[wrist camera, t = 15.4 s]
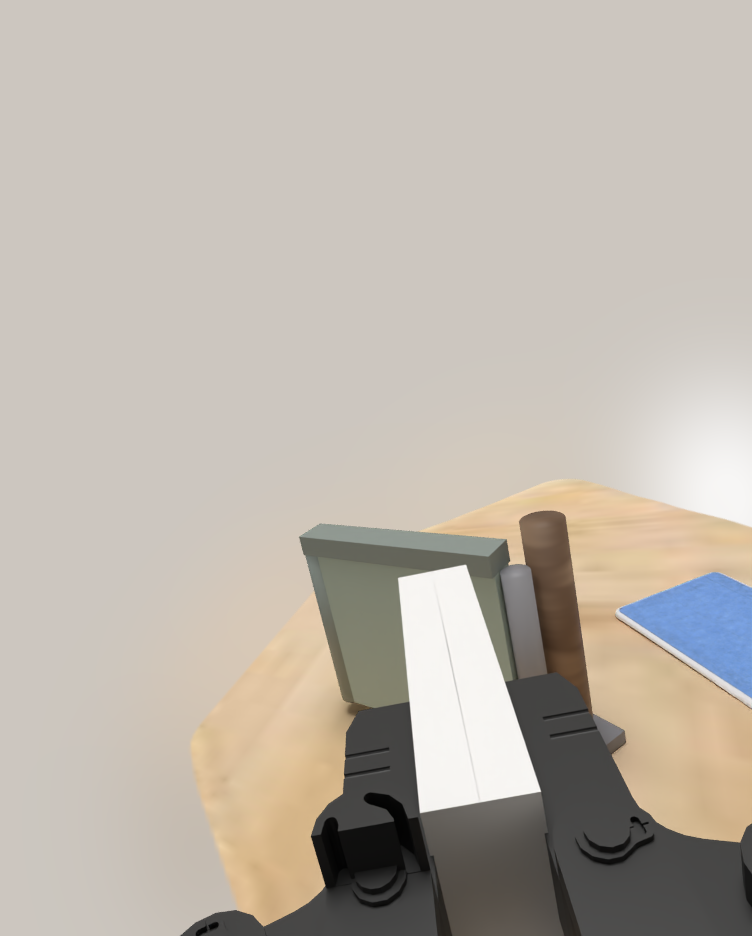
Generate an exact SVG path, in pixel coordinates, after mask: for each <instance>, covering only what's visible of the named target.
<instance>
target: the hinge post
mask: <svg viewBox="0 0 752 936" xmlns="http://www.w3.org/2000/svg"><path fill="white" fill-rule="evenodd" d="M519 524H520V530H521V537H522V543H523V549H524V555H525V562H526V565H527V566H529V567H530V568H531V573H532V580H533V586H534V592H535V599H536V605H537V611H538V618H539V624H540V630H541V637H542V643H543V649H544V656H545V662H546V668H547V674H549V673H555V672H557V673H558V674H560V675H561V676H562V677H564V678H565V679H566V680H568V681H569V682H570V683H572V684H573V685H574V686H576V687H577V688H578V690H579V692H580V694H581V696H582V698H583V700H584V702H585V704H586V706H587V708H588V711H589V713H590V714H591V716H592V718H593V720H594V722H595V724H596V726H597V729H598V731H599V732H600V734H601V736H602V738H603V740H604V742H605V744H606V746H607V748H608V750H609V752H610V754H612V753H613V752H614V751H616V750H617V749H618V748H619V747H620V746H622V745H623V744H624V743H625V742H626V738H625V730H623V729H621V728H619V727H617V726H615V725H613V724H611V723H610V722H608V721H606V720H604V719H602V718H600V717H598V716H596V715H595V714H593V713H592V706H591V698H590V691H589V684H588V677H587V669H586V662H585V655H584V648H583V640H582V633H581V626H580V619H579V611H578V604H577V597H576V590H575V582H574V575H573V568H572V561H571V554H570V546H569V539H568V532H567V525H566V517H565V515H564V514H562V513H560V512H556V511H539V512H534V513H531V514H528V515H526V516H524V517H522V518H521V519H520V521H519Z"/></svg>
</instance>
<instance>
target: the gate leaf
mask: <svg viewBox="0 0 752 936" xmlns="http://www.w3.org/2000/svg"><path fill="white" fill-rule="evenodd" d="M299 538H300V542H301V546H302V550H303V553H304V555H305V556H306V560H307V564H308V567H309V571H310V575H311V579H312V583H313V587H314V591H315V594H316V598H317V602H318V606H319V610H320V614H321V617H322V621H323V625H324V629H325V633H326V637H327V640H328V644H329V648H330V652H331V656H332V660H333V664H334V667H335V671H336V675H337V679H338V683H339V687H340V690H341V694H342V698H343V700H344V701H346V702H350V703H353V702H355V703H358V704H362V705H365V706H368V707H372V708H378V707H383V706H388V705H394V704H399V703H405V702H410V701H409V690H408V679H407V668H406V657H405V647H404V636H403V625H402V614H401V604H400V593H399V582H398V578H400V577H406V576H411V575H416V574H421V573H426V572H431V571H436V570H441V569H446V568H452V567H457V566H462V565H466V566H467V569H468V572H469V575H470V578H471V581H472V584H473V588H474V591H475V594H476V597H477V600H478V603H479V606H480V609H481V612H482V615H483V618H484V621H485V624H486V627H487V630H488V633H489V636H490V639H491V642H492V645H493V648H494V651H495V654H496V657H497V660H498V663H499V666H500V669H501V672H502V675H503V678H504V681H505V682H506V681H512V680H517V679H522V678H528V677H533V676H539V675H544V674H547V668H546V662H545V656H544V649H543V643H542V637H541V630H540V624H539V618H538V611H537V605H536V599H535V592H534V586H533V580H532V573H531V568H530V567H529V566H527V565H522V564H515V565H510V566H509V565H508V563H509V562H510V557H509V551H508V545H507V539H496V538H484V537H472V536H460V535H449V534H437V533H425V532H413V531H402V530H389V529H378V528H366V527H354V526H342V525H331V524H319V525H317V526H316V527H314V528H312V529H311V530H309V531H308V532H306V533H304V534H303V535H301V536H300V537H299Z"/></svg>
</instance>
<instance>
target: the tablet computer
mask: <svg viewBox="0 0 752 936" xmlns="http://www.w3.org/2000/svg"><path fill="white" fill-rule="evenodd" d="M615 616H616V617H617V618H618V619H619V620H621V621H623V622H624V623H626V624H627V625H629V626H630V627H632V628H634V629H635V630H637V631H638V632H640V633H641V634H643V635H644V636H646V637H647V638H649V639H650V640H652V641H653V642H655V643H656V644H658V645H659V646H660V647H662V648H663V649H665V650H666V651H668V652H669V653H671V654H672V655H674V656H675V657H677V658H678V659H680V660H681V661H683V662H684V663H686V664H687V665H689V666H690V667H692V668H693V669H695V670H696V671H697V672H699V673H700V674H702V675H703V676H705V677H706V678H708V679H709V680H711V681H712V682H714V683H715V684H716V685H718V686H719V687H721V688H722V689H724V690H725V691H727V692H728V693H729V694H731V695H732V696H734V697H735V698H737V699H738V700H740V701H741V702H743V703H744V704H745V705H747V706H748V707H750V708H751V709H752V587H750V586H748V585H746V584H744V583H742V582H739V581H737V580H735V579H733V578H731V577H729V576H727V575H725V574H722V573H718V572H712V573H708V574H705V575H703V576H700V577H698V578H695V579H693V580H690V581H687V582H685V583H682V584H680V585H677V586H675V587H672V588H669V589H667V590H664V591H661V592H659V593H656V594H654V595H651V596H649V597H646V598H643V599H641V600H638V601H636V602H633V603H631V604H628V605H625V606H623V607H620V608H618V609H617V610H616V614H615Z"/></svg>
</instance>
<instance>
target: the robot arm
mask: <svg viewBox="0 0 752 936" xmlns="http://www.w3.org/2000/svg"><path fill="white" fill-rule="evenodd" d="M398 582H399V593H400V604H401V614H402V625H403V636H404V647H405V657H406V668H407V679H408V690H409V701H410V702H405V703H399V704H394V705H388V706H383V707H378V708H372V709H367V710H362V711H358V713H357V715H356V717H355V718H354V720H353V722H352V724H351V725H350V727H349V729H348V731H347V732H346V748H345V757H346V760H345V767H344V776H345V779H344V786H343V794H342V795H341V796H340V797H338V798H337V799H335V800H334V801H332V802H331V803H329V804H328V805H327V807H326V808H325V809H324V810H323V812H322V813H321V814H320V815H319V817H318V818H317V819H316V822H315V825H314V828H313V831H312V834H311V838H312V841H313V845H314V848H315V852H316V855H317V858H318V862H319V865H320V869H321V872H322V875H323V879H324V882H325V885H326V886H325V887H324V889H323V890H322V891H321V892H320V893H319V894H318V895H317V896H316V897H315V898H314V899H312V900H311V901H310V902H309V903H308V904H306V905H304V906H303V907H301V908H299V909H298V910H296V911H295V912H293V913H291V914H289V915H287V916H285V917H283V918H281V919H279V920H277V921H275V922H273V923H271V924H269V925H266V926H264V927H263V926H262V925H261V924H260V923H259V922H258V921H257V919H256V918H255V917H254V916H253V915H250V914H247V913H243V912H240V911H237V910H234V911H227V912H219V913H215V914H213V915H211V916H209V917H207V918H204V919H203V920H200V921H198V922H196V923H195V924H193V925H192V926H191V927H190V928H189V929H188V930H186V931H185V932H184V933H183V934H182V935H181V936H752V824H750V825H749V826H748V827H746V830H745V832H744V835H743V837H742V840H741V842H740V843H738V842H728V841H719V840H709V839H701V838H696V837H691V836H686V835H683V834H680V833H677V832H675V831H672V830H669V829H667V828H665V827H664V826H662V825H660V824H659V823H657V822H656V821H655V820H654V819H653V818H652V816H651V815H650V814H649V813H647V812H646V811H644V810H642V809H641V808H639V806H638V805H637V803H636V802H635V800H634V799H633V797H632V795H631V793H630V791H629V789H628V787H627V785H626V783H625V781H624V779H623V777H622V775H621V773H620V771H619V769H618V767H617V765H616V764H615V762H614V760H613V758H612V756H611V754H610V752H609V750H608V748H607V746H606V744H605V742H604V740H603V738H602V736H601V734H600V732H599V731H598V729H597V726H596V724H595V722H594V720H593V718H592V716H591V714H590V713H589V711H588V708H587V706H586V704H585V702H584V700H583V698H582V696H581V694H580V692H579V690H578V688H577V687H576V686H574V685H573V684H572V683H570V682H569V681H568V680H566V679H565V678H564V677H562V676H561V675H560V674H558V673H557V672H555V673H549V674H544V675H539V676H533V677H528V678H522V679H517V680H512V681H506V682H505V681H504V678H503V675H502V672H501V669H500V666H499V663H498V660H497V657H496V654H495V651H494V648H493V645H492V642H491V639H490V636H489V633H488V630H487V627H486V624H485V621H484V618H483V615H482V612H481V609H480V606H479V603H478V600H477V597H476V594H475V591H474V588H473V584H472V581H471V578H470V575H469V572H468V569H467V566H466V565H462V566H457V567H452V568H446V569H441V570H436V571H431V572H426V573H421V574H416V575H411V576H406V577H400V578H398Z"/></svg>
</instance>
